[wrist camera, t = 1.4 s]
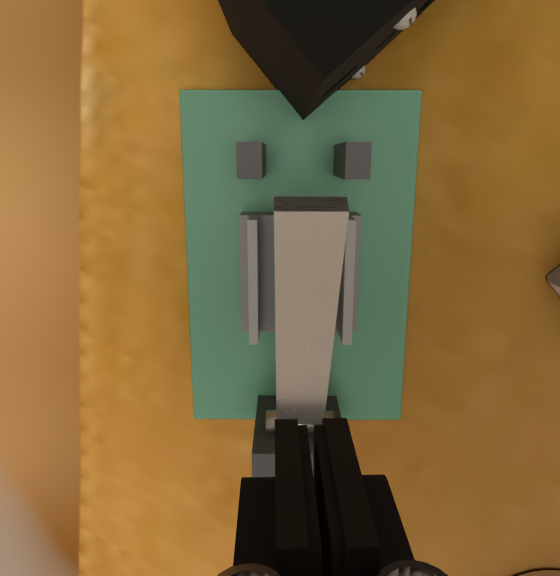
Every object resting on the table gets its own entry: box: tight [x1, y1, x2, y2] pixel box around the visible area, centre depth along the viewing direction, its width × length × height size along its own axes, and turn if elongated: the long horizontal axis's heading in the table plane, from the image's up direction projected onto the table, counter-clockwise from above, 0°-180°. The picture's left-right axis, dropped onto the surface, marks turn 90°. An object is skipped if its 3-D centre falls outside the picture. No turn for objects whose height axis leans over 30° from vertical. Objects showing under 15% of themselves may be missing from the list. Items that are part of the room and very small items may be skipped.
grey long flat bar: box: [266, 196, 349, 433], centre depth 27 cm, size 18×4×1 cm
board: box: [180, 90, 422, 477], centre depth 34 cm, size 24×16×9 cm, turn 0°
